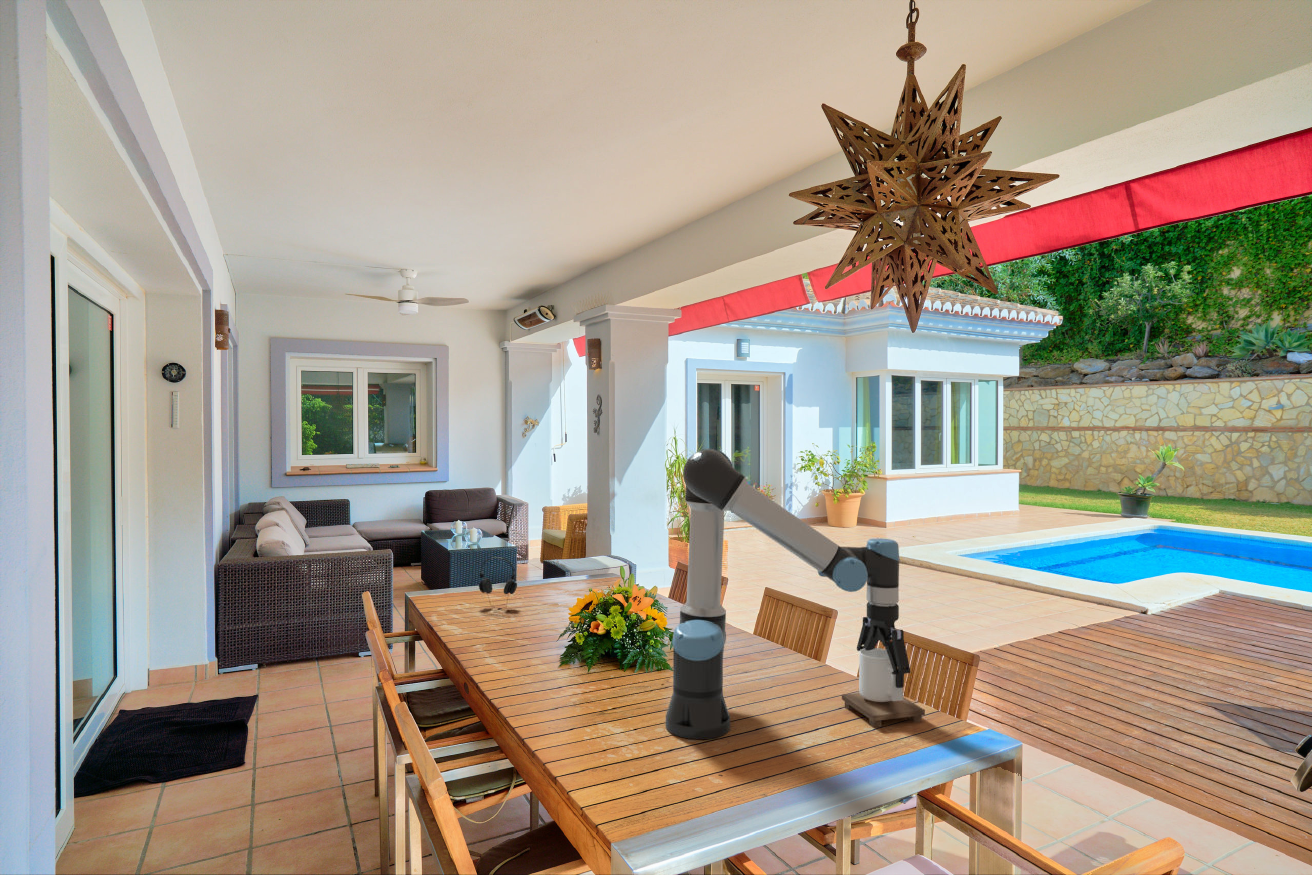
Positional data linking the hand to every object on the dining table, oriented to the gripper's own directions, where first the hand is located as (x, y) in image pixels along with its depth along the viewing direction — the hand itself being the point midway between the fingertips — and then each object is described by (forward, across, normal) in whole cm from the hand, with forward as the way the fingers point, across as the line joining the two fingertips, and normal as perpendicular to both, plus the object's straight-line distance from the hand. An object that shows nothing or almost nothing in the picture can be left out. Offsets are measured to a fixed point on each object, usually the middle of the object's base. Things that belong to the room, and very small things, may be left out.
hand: (881, 690), depth 175 cm
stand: (+6, 0, 0) cm, 6 cm away
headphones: (+6, +130, +86) cm, 156 cm away
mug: (+2, 0, 0) cm, 2 cm away
